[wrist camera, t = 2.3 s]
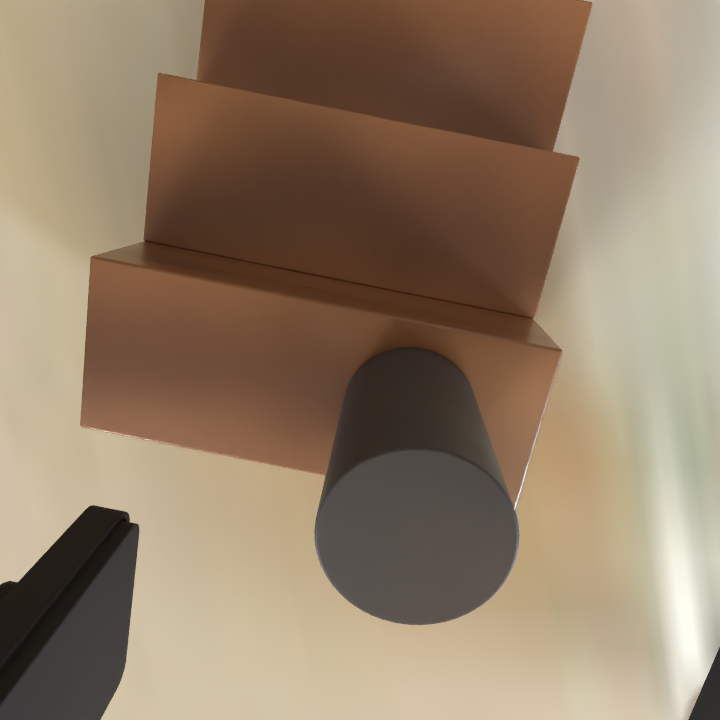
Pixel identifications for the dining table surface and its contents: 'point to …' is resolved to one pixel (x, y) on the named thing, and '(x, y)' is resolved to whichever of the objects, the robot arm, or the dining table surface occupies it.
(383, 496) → the cylinder
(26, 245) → the dining table surface
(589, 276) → the dining table surface
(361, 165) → the step rack
